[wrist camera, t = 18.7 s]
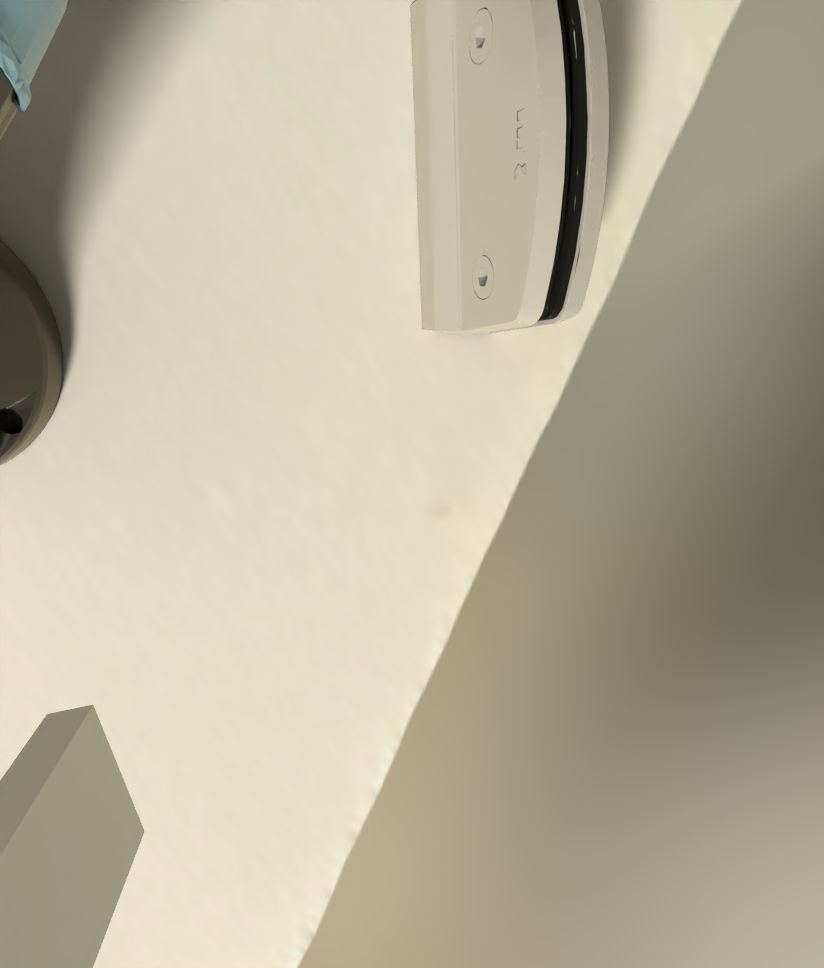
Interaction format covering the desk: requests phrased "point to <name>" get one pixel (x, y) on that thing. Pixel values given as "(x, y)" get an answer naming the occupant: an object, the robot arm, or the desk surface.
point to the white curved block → (508, 159)
